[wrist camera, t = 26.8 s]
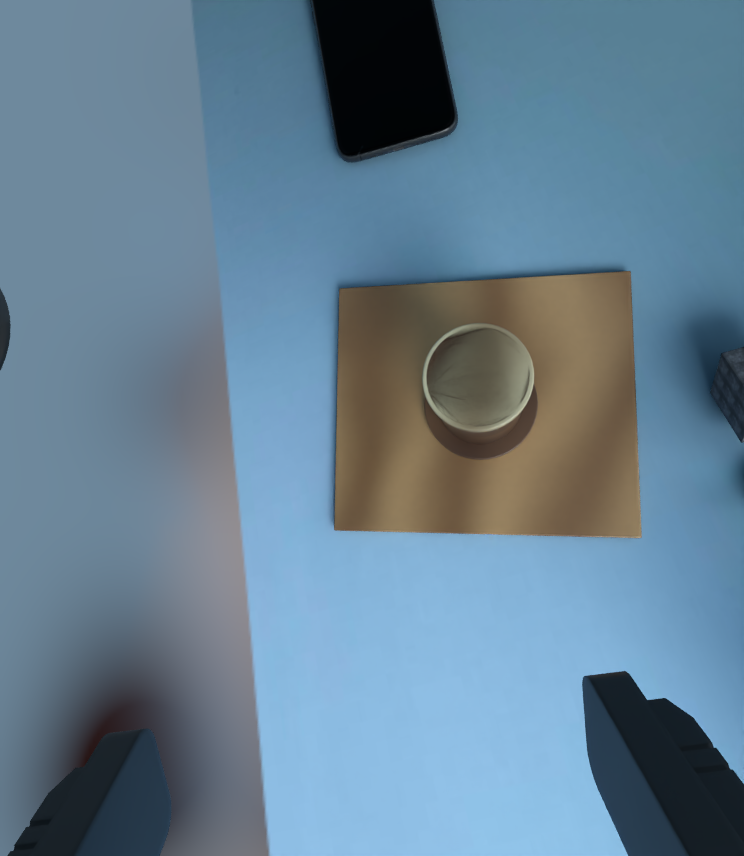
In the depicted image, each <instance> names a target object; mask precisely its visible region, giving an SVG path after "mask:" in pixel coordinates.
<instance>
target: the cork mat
mask: <svg viewBox="0 0 744 856" xmlns="http://www.w3.org/2000/svg"><path fill="white" fill-rule="evenodd" d="M472 323H487V324H492V325H496V326H499V327H501V328H504V329H506V330H508V331H509V332H511V333H512V334H514V335H515V336H516V337H517V338H518V339H519V340H520V341H521V342H522V343H523V345H524V346H525V347H526V349H527V351H528V352H529V354H530V357H531V360H532V363H533V367H534V385H535V388H536V392H537V398H538V410H537V416H536V419H535V422H534V425H533V427H532V429H531V431H530V433H529V434H528V436H527V437H526V438H525V440H524V441H523V442H522V443H521V444H520V445H519V446H518V447H516V448H515V449H514V450H512V451H511V452H509V453H507V454H505V455H503V456H500V457H497V458H493V459H488V460H473V459H468V458H464V457H461V456H458V455H456V454H454V453H452V452H451V451H449V450H448V449H446V448H445V447H444V446H443V445H442V444H441V443H440V442H439V441H438V440H437V439H436V438H435V436H434V435H433V433H432V432H431V430H430V428H429V426H428V423H427V420H426V416H425V411H424V399H425V393H424V389H423V383H422V374H423V367H424V363H425V360H426V357H427V355H428V353H429V351H430V350H431V348H432V347H433V345H434V344H435V343H436V342H437V341H438V340H439V339H440V338H441V337H442V336H443V335H445V334H446V333H448V332H449V331H451V330H453V329H455V328H457V327H460V326H462V325H467V324H472ZM334 530H340V531H380V532H419V533H459V534H498V535H538V536H578V537H617V538H641V537H642V535H641V511H640V486H639V462H638V438H637V414H636V389H635V365H634V341H633V317H632V292H631V272H630V271H622V272H606V273H589V274H572V275H556V276H539V277H522V278H506V279H489V280H472V281H456V282H439V283H422V284H406V285H389V286H372V287H356V288H340V289H339V326H338V375H337V423H336V472H335V520H334Z"/></svg>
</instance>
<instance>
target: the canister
mask: <svg viewBox="0 0 744 856" xmlns="http://www.w3.org/2000/svg"><path fill="white" fill-rule="evenodd" d="M422 383H423V389H424V393H425V399H424V411H425V416H426V420H427V423H428V426H429V428H430V430H431V432H432V433H433V435H434V436H435V438H436V439H437V440H438V441H439V442H440V443H441V444H442V445H443V446H444V447H445V448H446V449H448V450H449V451H451V452H452V453H454V454H456V455H458V456H461V457H464V458H468V459H473V460H488V459H493V458H497V457H500V456H503V455H505V454H507V453H509V452H511V451H512V450H514V449H515V448H516V447H518V446H519V445H520V444H521V443H522V442H523V441H524V440H525V438H526V437H527V436H528V434H529V433H530V431H531V429H532V427H533V425H534V422H535V419H536V416H537V410H538V398H537V392H536V388H535V385H534V367H533V363H532V360H531V357H530V354H529V352H528V351H527V349H526V347H525V346H524V345H523V343H522V342H521V341H520V340H519V339H518V338H517V337H516V336H515V335H514V334H512V333H511V332H509V331H508V330H506V329H504V328H501V327H499V326H496V325H492V324H487V323H472V324H467V325H462V326H460V327H457V328H455V329H453V330H451V331H449V332H448V333H446V334H445V335H443V336H442V337H441V338H440V339H439V340H438V341H437V342H436V343H435V344H434V345H433V347H432V348H431V350H430V351H429V353H428V355H427V357H426V360H425V363H424V367H423V374H422Z"/></svg>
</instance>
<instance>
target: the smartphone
mask: <svg viewBox="0 0 744 856" xmlns="http://www.w3.org/2000/svg"><path fill="white" fill-rule="evenodd" d="M310 2H311V7H312V10H313V11H312V13H313V19H314V24H315V28H316V33H317V39H318V45H319V50H320V56H321V62H322V68H323V73H324V79H325V85H326V90H327V96H328V102H329V108H330V113H331V119H332V125H333V130H334V136H335V142H336V147H337V151H338V153H339V155H340V157H341V158H342V159H343V160H345V161H347V162H358V161H362V160H365V159H369V158H373V157H376V156H380V155H383V154H387V153H390V152H394V151H398V150H401V149H405V148H408V147H412V146H415V145H419V144H422V143H426V142H429V141H433V140H436V139H440V138H443V137H446V136H448V135H449V134H451V133H452V132H453V131H454V130H455V128H456V126H457V122H458V114H457V108H456V104H455V99H454V94H453V89H452V85H451V80H450V75H449V70H448V66H447V61H446V56H445V51H444V47H443V42H442V37H441V32H440V28H439V23H438V18H437V13H436V9H435V4H434V0H310Z"/></svg>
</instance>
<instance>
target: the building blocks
mask: <svg viewBox="0 0 744 856" xmlns="http://www.w3.org/2000/svg"><path fill="white" fill-rule="evenodd" d="M710 393H711V395H712V397H713V398H714V400H715V401H716V403H717V405H718V406H719V408H720V409H721V411H722V413H723V414H724V416H725V417H726V419H727V420H728V422H729V424H730V425H731V427H732V428H733V430H734V432H735V433H736V435H737V436H738V438H739V440H740V441H741V443H742V442H744V347H742V348H739V349H735V350H731V351H728V352H724V353H722V354H721V357H720V361H719V364H718V368H717V371H716V374H715V378H714V381H713V385H712V388H711V392H710Z"/></svg>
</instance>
